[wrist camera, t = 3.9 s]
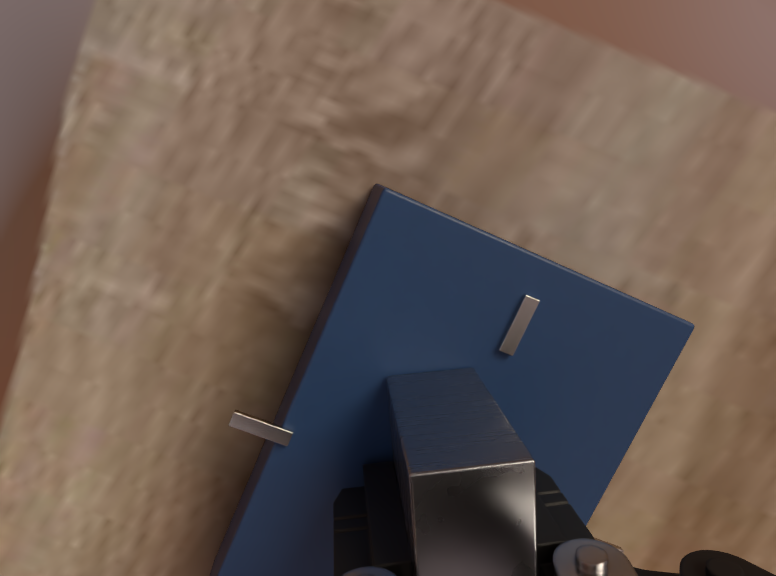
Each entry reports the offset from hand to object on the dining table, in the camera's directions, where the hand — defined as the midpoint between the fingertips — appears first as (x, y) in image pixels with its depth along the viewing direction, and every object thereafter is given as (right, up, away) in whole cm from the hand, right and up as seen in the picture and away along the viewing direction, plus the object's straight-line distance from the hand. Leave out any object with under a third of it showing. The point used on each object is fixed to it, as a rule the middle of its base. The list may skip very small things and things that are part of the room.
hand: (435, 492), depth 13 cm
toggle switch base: (0, +1, +3) cm, 3 cm away
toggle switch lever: (0, 0, 0) cm, 0 cm away
